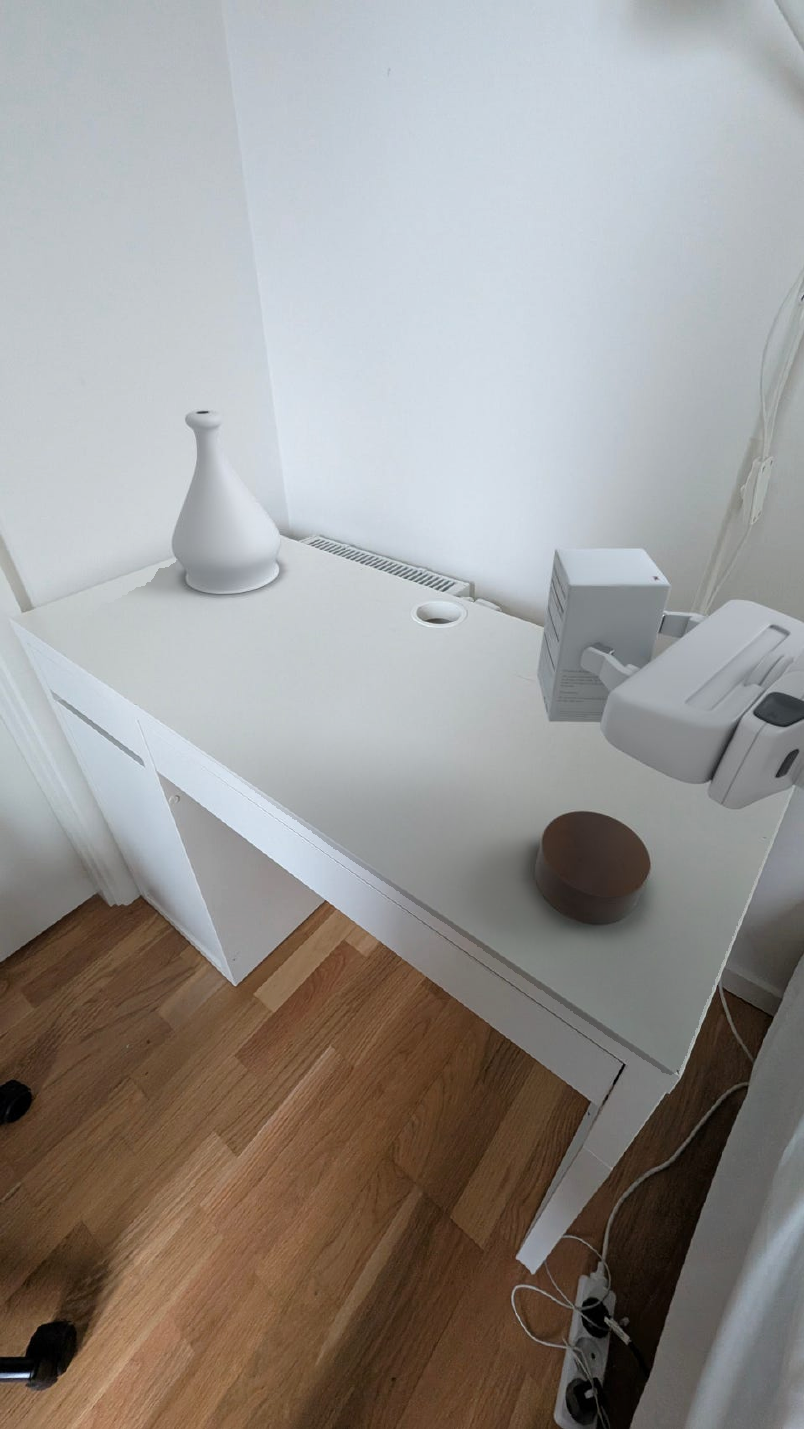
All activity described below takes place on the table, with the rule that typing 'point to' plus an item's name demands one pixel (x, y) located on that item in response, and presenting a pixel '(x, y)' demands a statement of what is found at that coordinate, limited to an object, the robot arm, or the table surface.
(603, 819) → the walnut riser
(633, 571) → the white packaging box
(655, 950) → the table surface
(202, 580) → the vase
